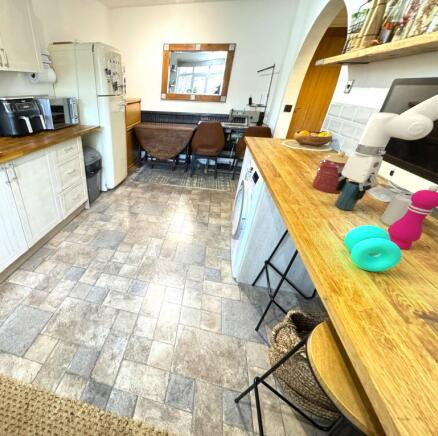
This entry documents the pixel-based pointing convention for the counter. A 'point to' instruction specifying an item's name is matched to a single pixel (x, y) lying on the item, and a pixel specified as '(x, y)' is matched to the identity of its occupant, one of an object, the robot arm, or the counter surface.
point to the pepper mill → (413, 218)
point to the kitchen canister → (329, 172)
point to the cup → (347, 196)
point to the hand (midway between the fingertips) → (347, 194)
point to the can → (397, 207)
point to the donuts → (372, 248)
